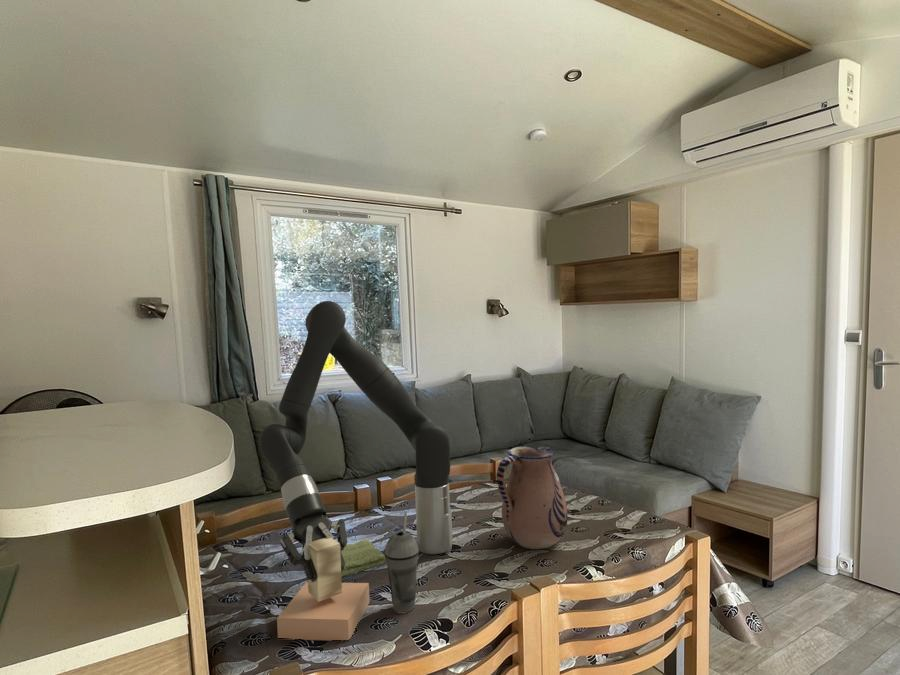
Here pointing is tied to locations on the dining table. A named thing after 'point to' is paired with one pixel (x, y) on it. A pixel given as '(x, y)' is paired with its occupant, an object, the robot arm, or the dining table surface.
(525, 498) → the ceramic pitcher
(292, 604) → the terracotta plinth
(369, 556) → the washcloth
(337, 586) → the birch block
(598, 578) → the dining table surface
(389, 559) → the beverage cup
